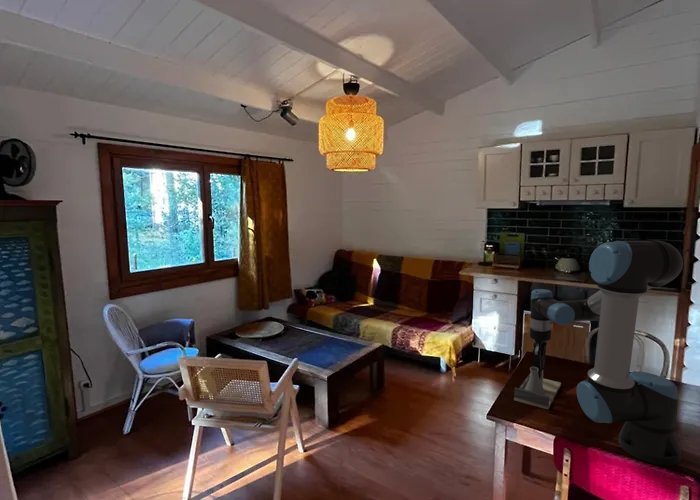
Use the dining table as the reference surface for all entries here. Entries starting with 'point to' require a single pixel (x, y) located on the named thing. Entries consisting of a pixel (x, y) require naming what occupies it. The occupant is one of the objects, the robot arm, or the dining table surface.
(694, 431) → the dining table surface
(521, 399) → the stand board
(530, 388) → the flask
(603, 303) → the robot arm
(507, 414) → the dining table surface
